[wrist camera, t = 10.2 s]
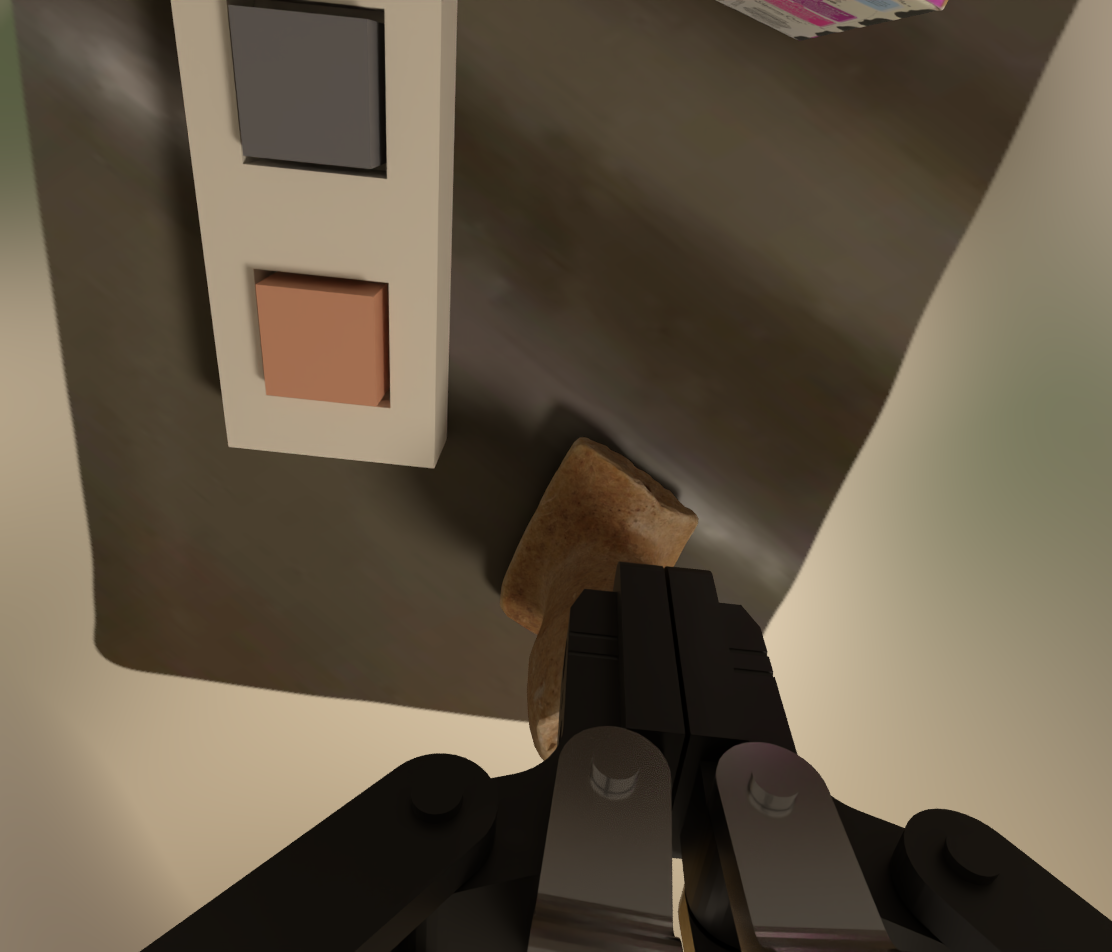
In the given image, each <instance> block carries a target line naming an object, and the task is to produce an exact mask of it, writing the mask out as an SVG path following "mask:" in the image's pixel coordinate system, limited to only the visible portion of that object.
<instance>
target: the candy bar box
mask: <svg viewBox="0 0 1112 952" xmlns="http://www.w3.org/2000/svg"><path fill="white" fill-rule="evenodd" d="M716 1H718V2H720V3H723V4H725V5H727V6H729V7H731V8H733V9H735V10H737V11H739V12H741V13H743V14H745V15H747V16H749V17H751V18H754V19H756V20H758V21H760V22H762V23H764V24H766V25H768V26H770V27H772V28H774V29H776V30H778V31H780V32H782V33H784V34H786V35H788V36H790V37H792V38H795V39H797V40H800V41H801V40H806V39H810V38H814V37H818V36H823V35H828V34H832V33H835V32H842V31H846V30H850V29H854V28H857V27H865V26H869V25H873V24H879V23H882V22H888V21H892V20H897V19H901V18H906V17H910V16H915V15H920V14H924V13H928V12H932V11H940V10H943V9H944V7H945V5H946V3H947V2H948V0H716Z"/></svg>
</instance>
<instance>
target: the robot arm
mask: <svg viewBox="0 0 1112 952" xmlns="http://www.w3.org/2000/svg"><path fill="white" fill-rule="evenodd" d="M558 724H559V725H558V738H557V748H556V749H555V751H554V752H553V753H552V754H551V755H550V756H549V757H548V758H547V759H546V760H545V761H543V762H542V763H540V764H539V765H537V766H536V767H534V768H531V769H529V770H527V771H524V772H520V773H516V774H512V775H506V776H501V777H495V778H490V777H489V776H488V774H487V773H486V772H485V771H484V770H483V769H482V768H481V767H480V766H478V765H477V764H476V763H474V762H472V761H470V760H468V759H466V758H464V757H460V756H457V755H452V754H429V755H424V756H420V757H416V758H414V759H411V760H410V761H407V762H405V763H403V764H402V765H400V766H399V767H397V768H396V769H394V770H393V771H392V772H390V773H389V774H387V775H386V776H384V777H383V778H382V779H380V780H379V781H378V782H376V783H375V784H373V785H372V786H371V787H369V788H368V789H366V790H365V791H364V792H362V793H361V794H359V795H358V796H357V797H355V798H354V799H352V800H351V801H350V802H348V803H347V804H345V805H344V806H343V807H341V808H340V809H338V810H337V811H336V812H334V813H333V814H331V815H330V816H329V817H327V818H326V819H325V820H323V821H322V822H320V823H319V824H318V825H316V826H315V827H313V828H312V829H311V830H309V831H308V832H306V833H305V834H303V835H302V836H301V837H299V838H298V839H297V840H295V841H294V842H292V843H291V844H290V845H288V846H287V847H285V848H284V849H283V850H281V851H280V852H278V853H277V854H276V855H274V856H273V857H271V858H270V859H269V860H267V861H266V862H264V863H263V864H262V865H260V866H259V867H257V868H256V869H255V870H253V871H252V872H251V873H249V874H248V875H246V876H245V877H243V878H242V879H241V880H239V881H238V882H236V883H235V884H234V885H232V886H231V887H229V888H228V889H227V890H225V891H224V892H222V893H221V894H220V895H218V896H217V897H216V898H214V899H213V900H211V901H210V902H209V903H207V904H206V905H204V906H203V907H201V908H200V909H199V910H197V911H196V912H195V913H193V914H192V915H190V916H189V917H188V918H186V919H185V920H183V921H182V922H181V923H179V924H178V925H176V926H175V927H174V928H172V929H171V930H169V931H168V932H167V933H165V934H164V935H162V936H161V937H160V938H158V939H157V940H155V941H154V942H153V943H151V944H150V945H149V946H147V947H146V948H144V949H143V950H142V951H140V952H683V949H682V943H681V940H680V938H679V937H675V936H674V932H673V909H672V907H673V905H672V858H679V859H682V862H683V872H684V881H685V884H684V888H683V891H682V895H681V899H680V902H679V908H678V915H679V924H680V930H681V936H682V942H683V948H684V952H1112V921H1111V920H1109V919H1108V918H1107V917H1106V916H1104V915H1103V914H1102V913H1100V912H1099V911H1098V910H1097V909H1095V908H1094V907H1093V906H1092V905H1090V904H1089V903H1088V902H1086V901H1085V900H1084V899H1082V898H1081V897H1080V896H1079V895H1077V894H1076V893H1075V892H1074V891H1072V890H1071V889H1070V888H1068V887H1067V886H1066V885H1064V884H1063V883H1062V882H1061V881H1059V880H1058V879H1057V878H1056V877H1054V876H1053V875H1052V874H1051V873H1049V872H1048V871H1047V870H1045V869H1044V868H1043V867H1042V866H1040V865H1039V864H1038V863H1036V862H1035V861H1034V860H1032V859H1031V858H1030V857H1029V856H1027V855H1026V854H1025V853H1024V852H1022V851H1021V850H1020V849H1018V848H1017V847H1016V846H1014V845H1013V844H1012V843H1011V842H1009V841H1008V840H1007V839H1006V838H1004V837H1003V836H1002V835H1000V834H999V833H998V832H996V831H995V830H994V829H992V828H990V827H989V826H988V825H986V824H984V823H982V822H981V821H979V820H977V819H975V818H973V817H970V816H968V815H966V814H962V813H960V812H956V811H952V810H947V809H928V810H924V811H922V812H919V813H917V814H915V815H914V816H913V817H912V818H911V819H910V820H909V821H908V823H907V825H906V827H905V828H903V827H900V826H898V825H895V824H892V823H890V822H887V821H884V820H882V819H879V818H876V817H874V816H871V815H868V814H866V813H863V812H861V811H858V810H856V809H854V808H851V807H849V806H847V805H845V804H843V803H842V802H840V801H838V800H837V799H835V798H834V797H832V796H831V795H830V792H829V790H828V788H827V786H826V784H825V782H824V780H823V779H822V778H821V776H820V774H819V773H818V772H817V771H816V770H815V769H814V768H813V767H812V766H811V765H810V764H809V763H808V762H807V761H805V760H804V759H803V758H801V757H800V756H798V755H797V752H796V749H795V745H794V742H793V738H792V735H791V731H790V728H789V725H788V721H787V718H786V714H785V711H784V708H783V704H782V701H781V697H780V694H779V690H778V687H777V683H776V680H775V677H773V670H772V666H771V663H770V659H769V657H767V649H766V646H765V642H764V639H763V635H762V632H761V628H760V627H759V625H758V624H757V623H756V622H755V621H754V620H753V618H752V617H751V616H750V615H749V614H748V613H747V611H746V610H745V609H744V608H743V607H742V606H741V605H735V604H726V603H719V602H718V597H717V593H716V588H715V584H714V579H713V575H712V573H711V571H707V570H698V569H688V568H679V567H669V566H665V568H663V566H658V565H649V564H640V563H630V562H621V561H619V562H618V564H617V568H616V573H615V580H614V586H613V592H611V591H602V590H592V589H584V590H583V591H582V593H581V594H580V595H579V597H578V598H577V599H576V601H575V602H574V603H573V605H572V606H571V607H570V615H569V622H568V630H567V638H566V646H565V654H564V662H563V670H562V678H561V693H560V708H559V723H558Z"/></svg>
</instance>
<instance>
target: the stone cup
mask: <svg viewBox="0 0 1112 952" xmlns="http://www.w3.org/2000/svg"><path fill="white" fill-rule="evenodd" d="M697 524H698V517H697V515H696V514H695V513H694V512H693V511H692V510H690V509H689V508H686V507H685V506H683V505H682V504H681V503H680V502H679V501H678V500H677V498H676V497H675V496H674V495H673V494H672V493H671V491H670V490H667V489H664V488H663V487H662V486H661V485H660V483H658V482H657V481H655V480H653V479H652V478H651V476H650V475H649V474H647V473H646V472H644V471H642V470H640V469H638V468H636V467H635V466H634V465H633V463H632V462H631V461H630V460H628V459H627V458H625V457H624V456H622V455H621V454H619V453H616V452H614V451H612V450H610V449H609V448H608V447H607V446H605V445H603V444H600V443H597V442H595V441H593V440H590V439H589V438H586V437H580V438H578V439H577V440H576V441H575V442H574V443H573V445H572V446H571V448H570V449H569V451H568V452H567V454H566V456H565V458H564V459H563V461H562V463H561V465H560V467H559V469H558V470H557V471H556V473H555V474H554V476H553V478H552V480H551V482H550V483H549V485H548V487H547V489H546V491H545V493H544V495H543V497H542V499H541V501H540V504H539V506H538V508H537V510H536V512H535V513H534V515H533V517H532V519H531V521H530V522H529V524H528V526H527V528H526V530H525V532H524V534H523V536H522V538H521V540H520V542H519V544H518V547H517V549H516V551H515V554H514V556H513V559H512V561H511V563H510V565H509V567H508V570H507V572H506V574H505V577H504V580H503V583H502V587H501V597H500V606H501V608H502V610H503V611H504V612H505V614H506V615H507V616H508V617H510V618H511V619H513V620H514V621H516V622H517V623H519V624H520V625H522V626H523V627H525V628H526V629H528V630H530V631H532V632H533V633H535V634H537V638H536V641H535V643H534V646H533V648H532V651H531V654H530V658H529V669H528V685H527V702H528V718H529V726H530V731H531V734H532V738H533V742H534V746H535V748H536V750H537V751H538V753H539V755H540V757H541V758H542V759H543V760H544V761H545V760H546V759H547V758H548V757H549V756H550V755H551V754H552V753H553V752H554V751H555V749H556V748H557V738H558V725H559V724H558V723H559V708H560V693H561V678H562V670H563V662H564V654H565V646H566V638H567V630H568V622H569V615H570V607H571V606H572V605H573V603H574V602H575V601H576V599H577V598H578V597H579V595H580V594H581V593H582V591H583V590H584V589H592V590H602V591H611V592H613V586H614V580H615V573H616V568H617V564H618V562H619V561H621V562H630V563H640V564H649V565H658V566H663V568H665V566H669V567H674V565H675V563H676V561H677V559H678V557H679V556H680V554H681V552H682V550H683V548H684V546H685V544H686V543H687V541H688V539H689V538H690V536H691V534H692V533H693V531H694V530H695V528H696V526H697Z"/></svg>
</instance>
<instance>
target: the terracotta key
mask: <svg viewBox="0 0 1112 952" xmlns="http://www.w3.org/2000/svg"><path fill="white" fill-rule="evenodd" d="M255 286H256V296H257V306H258V316H259V326H260V336H261V346H262V357H263V367H264V377H265V387H266V395H271V396H281V397H290V398H300V399H309V400H319V401H328V402H338V403H347V404H357V405H366V406H377V405H378V403H379V402H380V400H381V399H382V398H383V396H384V395H385V393H386V392H387V390H388V389H389V387H390V345H389V283H385V282H376V281H366V280H357V279H347V278H338V277H328V276H319V275H309V274H299V273H290V272H280V271H277V272H276V273H274V274H272V275H270V276H269V277H267V278H265V279H264V280H262V281H260V282H259V283H257V284H255Z"/></svg>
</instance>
